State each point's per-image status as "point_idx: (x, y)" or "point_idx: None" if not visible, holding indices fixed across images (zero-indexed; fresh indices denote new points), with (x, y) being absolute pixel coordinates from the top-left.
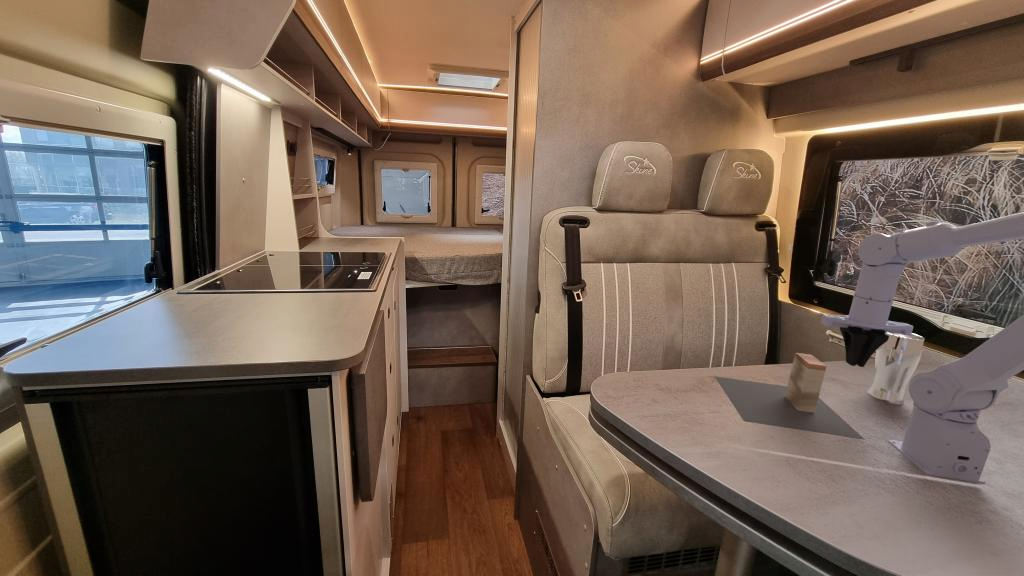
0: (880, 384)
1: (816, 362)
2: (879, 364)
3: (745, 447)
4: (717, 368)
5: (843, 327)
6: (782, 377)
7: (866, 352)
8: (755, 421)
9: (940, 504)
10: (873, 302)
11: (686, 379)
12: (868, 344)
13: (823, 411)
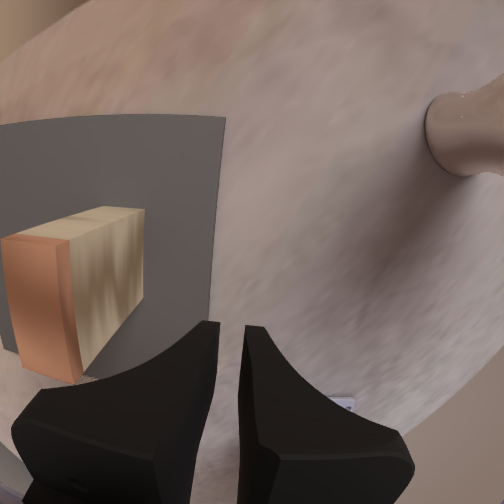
0: (459, 138)
1: (47, 352)
2: (494, 116)
3: (12, 405)
4: (21, 49)
5: (34, 471)
6: (190, 26)
7: (241, 446)
8: (17, 350)
9: (213, 495)
10: None
11: None
12: (239, 489)
13: (174, 284)
